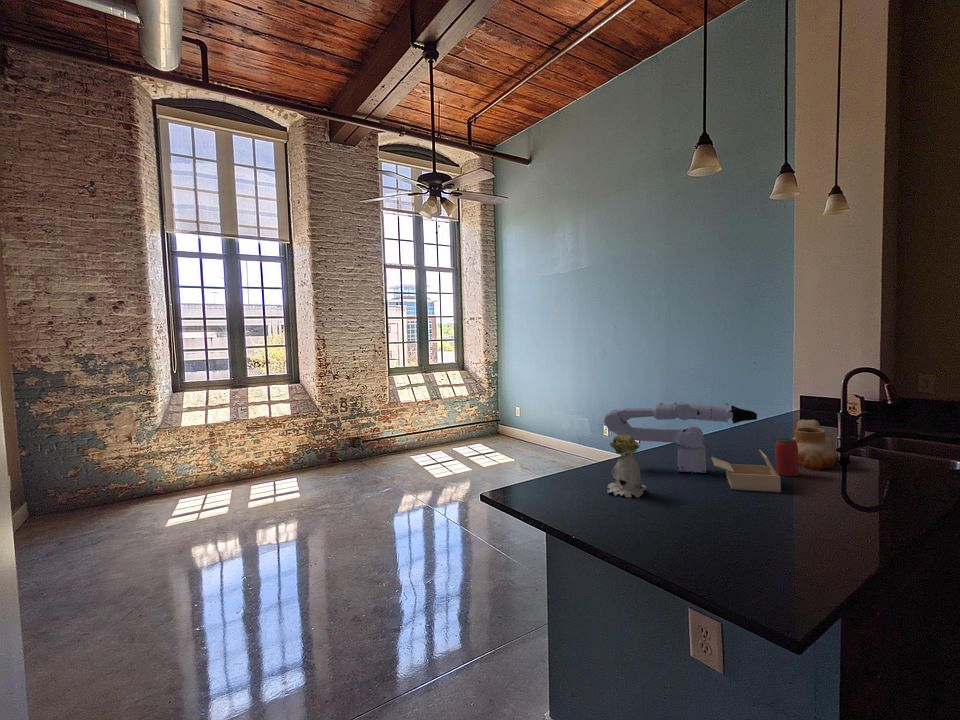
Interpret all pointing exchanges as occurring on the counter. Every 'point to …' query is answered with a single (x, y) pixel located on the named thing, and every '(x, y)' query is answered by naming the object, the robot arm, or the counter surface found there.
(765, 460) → the flap
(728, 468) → the flap
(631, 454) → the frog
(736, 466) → the cardboard box
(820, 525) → the counter surface
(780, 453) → the beer can
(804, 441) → the ceramic vessel
